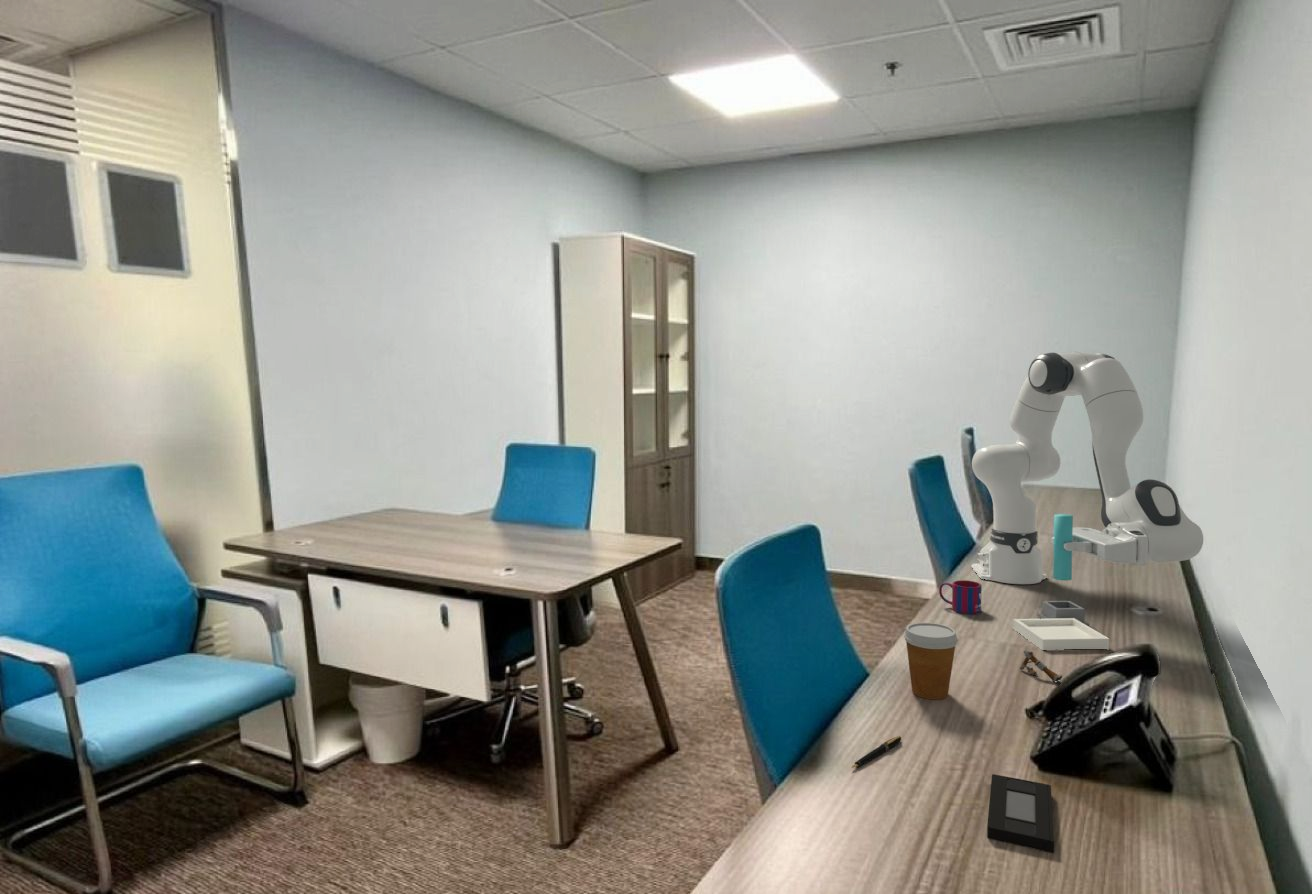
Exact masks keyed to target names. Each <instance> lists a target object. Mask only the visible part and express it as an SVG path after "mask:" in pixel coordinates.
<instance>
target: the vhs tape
mask: <svg viewBox="0 0 1312 894" xmlns="http://www.w3.org/2000/svg"><path fill="white" fill-rule="evenodd" d="M989 793H990V794H989V805H988V813H987V814H988V815H987V825H986V827H987V828H986V830H987V831H986V838H987V839H989V840H994V841H997V842H998V841H999V842H1003V843H1006V844H1012V845H1017V846H1020V847H1024V848H1029V849H1034V850H1038V851H1041V852H1042V851H1043V852H1047V853H1052V854H1054V852H1055V836H1054V835H1055V834H1054V817H1053V816H1054V815H1053V801H1052V800H1053V797H1052V796H1053V795H1052V785H1051V784H1046V783H1043V782H1037V781H1031V780H1027V779H1020V778H1017V777H1010V776H1005V775H1000V774H994V773H992V774H991V783H990V792H989Z"/></svg>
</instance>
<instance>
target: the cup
mask: <svg viewBox="0 0 1312 894" xmlns="http://www.w3.org/2000/svg"><path fill="white" fill-rule="evenodd" d="M946 585H947V586H948V587H950V588H951V590H952V591H951V592H952V594H951V595H952V599H951V601H950V600H948V599H947V598H945V596H943V592H942V588H943V587H944V586H946ZM982 585H983V584H981V582H977V581H973V580H963V579H962V580H961V579H960V580H954V581H953V582H952V583H950V582H942V583H941V584H940V586H939V588H938V592H939V596H940V598H941V599H942V601H944V602H945V603H947V604H948V605H951V607H952V608H951V609H952V611H954V612H955V611H956V612H955V613H958V612H959V614H962V613H966V614H965V615H977V613H978V614H980V613H982V591H983V589H982V588H983V587H982Z"/></svg>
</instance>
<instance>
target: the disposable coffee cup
mask: <svg viewBox="0 0 1312 894" xmlns="http://www.w3.org/2000/svg"><path fill="white" fill-rule="evenodd" d="M903 638H904V641H905V644H906V650H907V651H906V652H907V658H908V659H907V660H908V668H909V674H910V675H909V676H910V683H911V691H912V694H914V695H915V696H916V697H920V698H922V699H926V700H927V699H928V700H943V699H946V698H947V697H948V696H949V690H950V685H951V684H950V682H951V676H952V669H953V664H954V658H955V650H956V646H957V643H958V642H959V637H958V636H957V633H956V630H955V629H954V628H953V627H951V626H948V625H945V624H941V623H935V622H914V623H910V624H908V625H907V626H906V627H905V631H904V632H903Z"/></svg>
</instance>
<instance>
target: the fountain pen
mask: <svg viewBox="0 0 1312 894" xmlns="http://www.w3.org/2000/svg"><path fill="white" fill-rule="evenodd" d="M901 741H902V737H901V735H898V736H895V737H893V738H891V739H888V740H887V741H885V742H883V743H882V744H880V745H879V746H878V747H876V748H875V749H873V750H871V751H870V752H868V753H867V754H865V755H864V756H862V757H861V758H860V759H858V760H857V761H855V762H854V764H853V765H852V766H851V767H850V768H851V769H852V768H859V767H861V766H863V765H865V764H867V763H869V762H870V761H872V760H874V759H876V758H877V757H879V756H881V755H883V754H885V753H887V752H889V750H891V749H893V748H894V747H896V746H897V745H898V744H899V743H900V742H901Z"/></svg>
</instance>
